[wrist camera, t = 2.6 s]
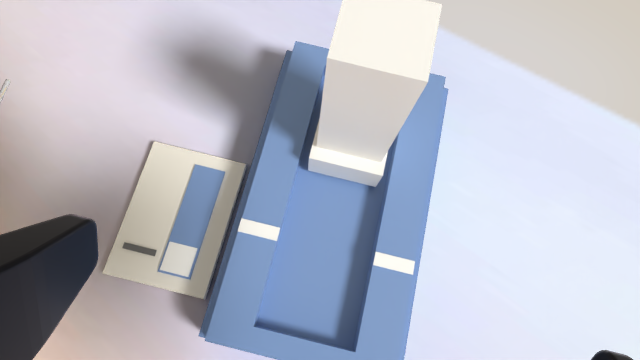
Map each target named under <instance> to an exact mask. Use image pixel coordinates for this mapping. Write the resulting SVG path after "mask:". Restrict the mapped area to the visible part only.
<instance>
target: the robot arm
mask: <svg viewBox="0 0 640 360" xmlns="http://www.w3.org/2000/svg"><path fill="white" fill-rule="evenodd" d="M97 260H98V242H97V227H96V223H95V221H94V220H92V219H90V218H86V217H82V216H78V215H74V214H68V215H64V216H61V217H58V218H55V219H51V220H48V221H45V222H41V223H38V224H35V225H31V226H28V227H25V228H21V229H18V230H15V231H11V232H8V233H5V234H1V235H0V360H33V358H34V357H35V356H36V354H37V353H38V352H39V351H40V349H41V348H42V347H43V345H44V344H45V343H46V341H47V340H48V338H49V337H50V335H51V334H52V333H53V331H54V330H55V328H56V326H57V325H58V323H59V322H60V320H61V319H62V317H63V316H64V314H65V313H66V311H67V310H68V308H69V307H70V305H71V304H72V302H73V301H74V299H75V298H76V296H77V294H78V293H79V291H80V290H81V288H82V287H83V285H84V284H85V282H86V281H87V279H88V278H89V276H90V275H91V273H92V272H93V270H94V268H95V266H96V264H97ZM591 360H633V359H632V358H630V357H628V356H626V355H624V354H620V353H616V352H612V351H608V350H601V351H599V352H597V353H596V354H595V355H594V356H593V358H592V359H591Z"/></svg>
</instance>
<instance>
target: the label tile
mask: <svg viewBox="0 0 640 360" xmlns="http://www.w3.org/2000/svg"><path fill="white" fill-rule="evenodd" d="M246 168H247V165H246V164H244V163H240V162H236V161H232V160H228V159H224V158H220V157H216V156H212V155H208V154H204V153H199V152H195V151H191V150H187V149H183V148H179V147H175V146H171V145H167V144H163V143H159V142H155V141H154V143H153V145H152V148H151V151H150V153H149V156H148V158H147V161H146V163H145V166H144V168H143V171H142V173H141V176H140V179H139V181H138V184H137V186H136V189H135V191H134V194H133V196H132V199H131V202H130V204H129V207H128V209H127V212H126V214H125V217H124V219H123V222H122V224H121V227H120V230H119V232H118V235H117V237H116V240H115V242H114V245H113V247H112V250H111V253H110V255H109V258H108V260H107V263H106V265H105V268H104V270H103V273H102V274H106V275H110V276H114V277H118V278H122V279H126V280H130V281H134V282H138V283H142V284H146V285H150V286H153V287H157V288H161V289H165V290H169V291H173V292H177V293H181V294H185V295H189V296H193V297H197V298H201V299H206V296H207V293H208V290H209V286H210V283H211V280H212V277H213V274H214V270H215V267H216V264H217V261H218V258H219V254H220V251H221V248H222V245H223V242H224V238H225V235H226V232H227V229H228V226H229V222H230V219H231V216H232V213H233V210H234V206H235V203H236V200H237V197H238V194H239V190H240V187H241V184H242V181H243V177H244V174H245V171H246Z"/></svg>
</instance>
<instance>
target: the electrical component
mask: <svg viewBox="0 0 640 360" xmlns="http://www.w3.org/2000/svg"><path fill="white" fill-rule="evenodd" d="M10 82H11V81H10V80H8V79H6V81H5V83H4V85H3V87H2V89H1V91H0V103H1V101H2V99H3V97H4V94H5V92H6V90H7V88H8V86H9V84H10Z"/></svg>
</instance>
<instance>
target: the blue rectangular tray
mask: <svg viewBox="0 0 640 360" xmlns="http://www.w3.org/2000/svg"><path fill="white" fill-rule="evenodd" d="M328 52H329V49H327V48H323V47H318V46H314V45H310V44H306V43H302V42H297V41H296V42H295V45H294V48H293V51H288V50H287V51H286V55H285V58H284V61H283V64H282V67H281V71H280V74H279V77H278V80H277V84H276V87H275V90H274V93H273V97H272V100H271V103H270V106H269V110H268V113H267V116H266V119H265V123H264V126H263V129H262V132H261V135H260V139H259V142H258V145H257V148H256V152H255V155H254V158H253V161H252V165H251V168H250V171H249V174H248V178H247V181H246V184H245V187H244V191H243V194H242V197H241V200H240V203H239V207H238V210H237V213H236V216H235V220H234V223H233V226H232V229H231V233H230V236H229V239H228V242H227V246H226V249H225V252H224V255H223V259H222V262H221V265H220V268H219V271H218V275H217V278H216V281H215V284H214V288H213V291H212V294H211V297H210V301H209V304H208V307H207V310H206V314H205V317H204V320H203V323H202V327H201V330H200V333H199V336H200V337H204V338H205V341H207V342H211V343H215V344H219V345H223V346H227V347H231V348H235V349H238V350H242V351H246V352H250V353H254V354H258V355H262V356H266V357H270V358H274V359H278V360H404V355H405V349H406V343H407V337H408V331H409V325H410V319H411V313H412V307H413V301H414V295H415V289H416V282H417V276H418V270H419V264H420V258H421V252H422V246H423V240H424V234H425V228H426V222H427V216H428V209H429V203H430V197H431V191H432V185H433V179H434V173H435V167H436V161H437V155H438V149H439V143H440V136H441V130H442V124H443V118H444V112H445V106H446V100H447V94H448V89H447V88H444V84H445V78H446V77H444V76H440V75H435V74H431V73H430V74H429V79H428V83H427V85H426V86H425V88H424V90H423V91H422V93H421V95H420V97H419V98H418V100H417V102H416V103H415V105H414V107H413V109H412V110H411V112H410V114H409V115H408V117H407V119H406V121H405V122H404V124H403V126H402V127H401V129H400V131H399V133H398V134H397V136H396V138H395V139H394V141H393V143H392V145H391V146H390V148H389V150H388V153H387V158H386V163H385V168H384V173H383V176H382V178H381V180H380V181H379V183H378V184H377V186H376V187H373V186H369V185H365V184H361V183H357V182H353V181H349V180H345V179H341V178H337V177H333V176H328V175H324V174H320V173H316V172H312V171H308V163H309V156H310V152H311V148H312V144H313V141H314V137H315V133H316V129H317V126H318V122H319V118H320V113H321V104H322V96H323V87H324V79H325V71H326V62H327V56H328Z"/></svg>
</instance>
